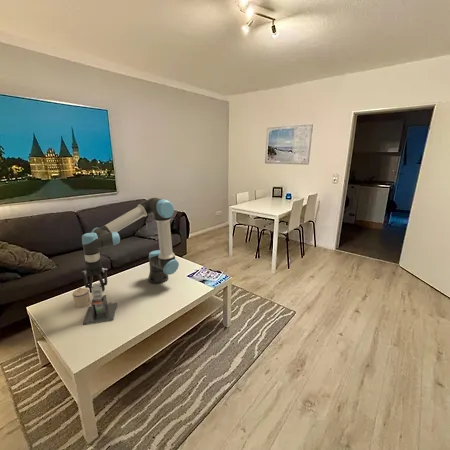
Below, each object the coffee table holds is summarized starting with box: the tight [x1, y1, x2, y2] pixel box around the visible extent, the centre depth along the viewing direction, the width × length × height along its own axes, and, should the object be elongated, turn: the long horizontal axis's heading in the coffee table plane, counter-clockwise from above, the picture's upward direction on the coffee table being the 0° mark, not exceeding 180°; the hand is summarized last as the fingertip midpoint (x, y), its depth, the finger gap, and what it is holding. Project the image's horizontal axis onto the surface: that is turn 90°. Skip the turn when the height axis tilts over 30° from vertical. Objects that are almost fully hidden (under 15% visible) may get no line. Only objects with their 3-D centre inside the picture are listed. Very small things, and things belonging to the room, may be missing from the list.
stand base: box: [82, 294, 118, 326], centre depth 149 cm, size 16×16×10 cm
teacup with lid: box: [72, 286, 91, 309], centre depth 159 cm, size 12×9×12 cm
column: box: [92, 282, 104, 314], centre depth 147 cm, size 5×4×18 cm
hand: (98, 296), depth 147 cm, fingers closed on column, 4 cm apart
